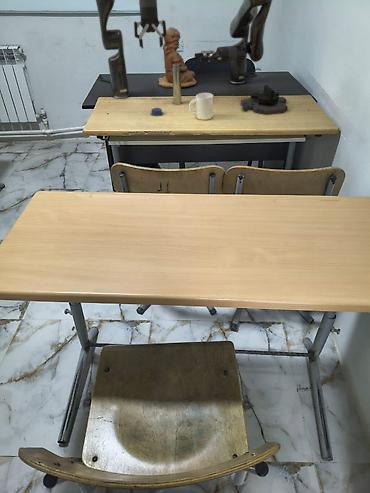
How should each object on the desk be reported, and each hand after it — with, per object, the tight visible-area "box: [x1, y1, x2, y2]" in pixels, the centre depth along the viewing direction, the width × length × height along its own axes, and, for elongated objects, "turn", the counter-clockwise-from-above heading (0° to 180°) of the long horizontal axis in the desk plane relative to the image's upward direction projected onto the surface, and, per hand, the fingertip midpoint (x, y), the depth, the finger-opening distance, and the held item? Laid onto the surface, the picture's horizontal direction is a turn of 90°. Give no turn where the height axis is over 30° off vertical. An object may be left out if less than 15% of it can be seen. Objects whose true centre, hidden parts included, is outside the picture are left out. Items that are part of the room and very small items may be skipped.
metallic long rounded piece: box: [172, 64, 182, 105], centre depth 189 cm, size 4×4×19 cm
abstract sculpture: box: [240, 84, 289, 115], centre depth 183 cm, size 25×9×20 cm
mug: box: [188, 92, 214, 121], centre depth 174 cm, size 12×8×10 cm
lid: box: [150, 107, 163, 117], centre depth 182 cm, size 5×5×2 cm
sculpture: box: [157, 27, 198, 89], centre depth 214 cm, size 27×24×30 cm
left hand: (151, 47), depth 164 cm, fingers open, 8 cm apart
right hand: (197, 57), depth 184 cm, fingers open, 8 cm apart
